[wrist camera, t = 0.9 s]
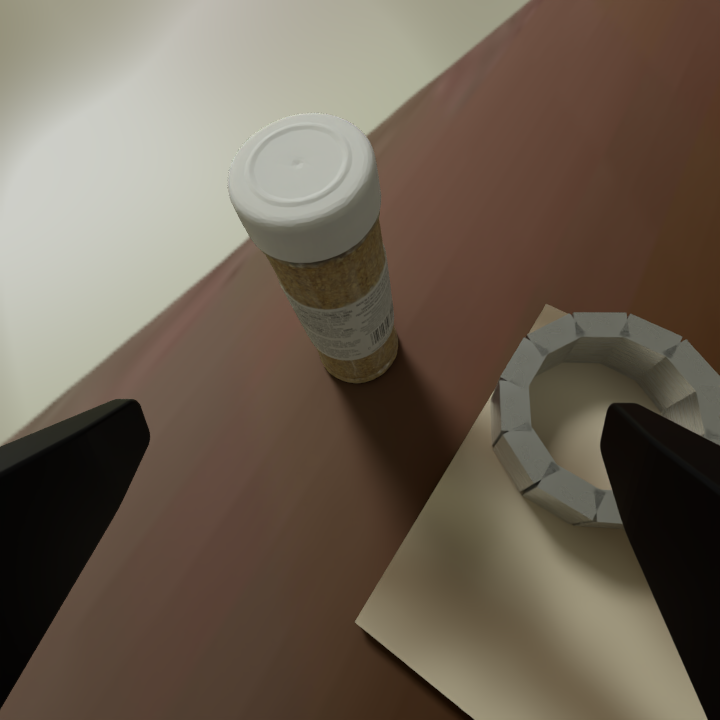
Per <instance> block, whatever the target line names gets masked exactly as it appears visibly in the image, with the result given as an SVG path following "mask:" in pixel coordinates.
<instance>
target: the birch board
mask: <svg viewBox="0 0 720 720" xmlns="http://www.w3.org/2000/svg"><path fill="white" fill-rule="evenodd" d="M565 315H567V313H565V312H562V311H560V310H558V309H556V308H554V307H552V306H550V305H547V304H546V305H545V307H544V309H543V310H542V312H541V314H540V315H539V317H538V319H537V320H536V322H535V324H534V325H533V327H532V329H531V330H530V332H529V334H530V333H532V332H534V331H536V330H538V329H540V328H542V327H544V326H546V325H547V324H549V323H551V322H553V321H555V320H557V319H559V318H561V317H563V316H565ZM492 395H493V393H492ZM492 395H491V397H492ZM491 397H490V398H489V400H488V402H487V403H486V405H485V407H484V408H483V410H482V412H481V413H480V415H479V417H478V418H477V420H476V422H475V423H474V425H473V427H472V428H471V430H470V432H469V433H468V435H467V437H466V438H465V440H464V442H463V443H462V445H461V447H460V448H459V450H458V452H457V453H456V455H455V456H454V458H453V460H452V461H451V463H450V465H449V466H448V468H447V470H446V471H445V473H444V475H443V476H442V478H441V480H440V481H439V483H438V485H437V486H436V488H435V490H434V491H433V493H432V495H431V496H430V498H429V500H428V501H427V503H426V505H425V506H424V508H423V510H422V511H421V513H420V515H419V516H418V518H417V520H416V521H415V523H414V525H413V526H412V528H411V530H410V531H409V533H408V535H407V536H406V538H405V539H404V541H403V543H402V544H401V546H400V548H399V549H398V551H397V553H396V554H395V556H394V558H393V559H392V561H391V563H390V564H389V566H388V568H387V569H386V571H385V573H384V574H383V576H382V578H381V579H380V581H379V583H378V584H377V586H376V588H375V589H374V591H373V593H372V594H371V596H370V598H369V599H368V601H367V603H366V604H365V606H364V608H363V609H362V611H361V613H360V614H359V616H358V618H357V619H356V621H355V623H356V624H358V625H359V626H360V627H361V628H363V629H364V630H365V631H366V632H367V633H369V634H370V635H371V636H372V637H374V638H375V639H376V640H377V641H379V642H380V643H381V644H382V645H383V646H385V647H386V648H387V649H388V650H390V651H391V652H392V653H393V654H394V655H396V656H397V657H398V658H399V659H401V660H402V661H403V662H404V663H406V664H407V665H408V666H409V667H410V668H412V669H413V670H414V671H415V672H417V673H418V674H419V675H420V676H422V677H423V678H424V679H425V680H426V681H428V682H429V683H430V684H431V685H433V686H434V687H435V688H436V689H437V690H439V691H440V692H441V693H442V694H444V695H445V696H446V697H447V698H449V699H450V700H451V701H452V702H453V703H455V704H456V705H457V706H458V707H460V708H461V709H462V710H463V711H464V712H466V713H467V714H468V715H469V716H471V717H472V718H473V719H474V720H708V719H707V717H706V715H705V713H704V710H703V708H702V706H701V704H700V701H699V699H698V697H697V694H696V692H695V690H694V688H693V685H692V683H691V681H690V679H689V676H688V674H687V672H686V669H685V667H684V665H683V663H682V660H681V658H680V656H679V654H678V651H677V649H676V647H675V644H674V642H673V640H672V638H671V635H670V633H669V631H668V629H667V626H666V624H665V622H664V619H663V617H662V615H661V613H660V610H659V608H658V606H657V604H656V601H655V599H654V597H653V594H652V592H651V590H650V588H649V585H648V583H647V581H646V579H645V576H644V574H643V572H642V569H641V567H640V565H639V563H638V560H637V558H636V556H635V553H634V551H633V549H632V547H631V544H630V542H629V540H628V537H627V535H626V532H625V530H624V529H613V528H599V527H585V526H573V524H568V523H566V522H565V521H563V520H561V519H560V518H558V517H556V516H555V515H553V514H552V513H550V512H548V511H547V510H545V509H544V508H542V507H540V506H539V505H537V504H535V503H534V502H532V501H531V500H529V499H527V498H526V497H524V496H522V495H523V493H524V491H525V490H523V491H521V492H519V491H518V490H517V488H516V486H515V485H514V483H513V481H512V480H511V478H510V477H509V475H508V473H507V472H506V470H505V468H504V467H503V465H502V464H501V462H500V460H499V459H498V457H497V455H496V454H495V452H494V450H493V448H494V447H495V446H492V442H491V412H490V400H491ZM529 399H530V413H531V426H532V428H533V429H534V431H535V432H536V434H537V435H538V437H539V438H540V440H541V441H542V443H543V444H544V446H545V447H546V449H547V450H548V452H549V453H550V455H551V456H552V458H553V459H554V461H555V462H556V464H557V465H559V466H561V467H562V468H564V469H566V470H567V471H569V472H571V473H573V474H574V475H576V476H578V477H580V478H581V479H583V480H585V481H586V482H588V483H590V484H592V485H593V486H595V487H597V488H599V489H603V490H612V488H611V485H610V482H609V478H608V475H607V472H606V468H605V465H604V462H603V459H602V455H601V451H600V440H601V435H602V430H603V426H604V421H605V417H606V412H607V409H608V407H609V405H611V404H612V403H637V404H639V405H641V406H643V407H645V408H647V409H649V410H651V411H653V412H655V413H657V414H659V415H661V412H660V410H659V409H658V408H657V407H656V405H655V404H654V403H653V402H652V400H651V399H650V398H649V397H648V395H647V394H646V393H645V392H644V391H643V389H642V388H641V387H640V386H639V384H638V383H637V382H636V381H635V380H633V379H631V378H629V377H627V376H625V375H623V374H621V373H619V372H617V371H615V370H613V369H611V368H609V367H606V366H604V365H602V364H600V363H561V364H559V365H557V366H555V367H553V368H551V369H549V370H547V371H545V372H543V373H541V374H539V375H537V376H535V377H534V378H533V380H532V381H531V383H530V385H529Z"/></svg>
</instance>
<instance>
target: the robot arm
mask: <svg viewBox="0 0 720 720" xmlns="http://www.w3.org/2000/svg"><path fill="white" fill-rule="evenodd" d="M149 441H150V432H149V429H148V426H147V423H146V420H145V417H144V414H143V411H142V409H141V406H140V404H139V403H138V402H137V401H136V400H134V399H115V400H112V401H110V402H107V403H105V404H102V405H100V406H98V407H95V408H93V409H90V410H88V411H85V412H83V413H81V414H78V415H76V416H73V417H71V418H69V419H66V420H64V421H61V422H59V423H57V424H54V425H52V426H49V427H47V428H44V429H42V430H40V431H37V432H35V433H32V434H30V435H28V436H25V437H23V438H20V439H18V440H15V441H13V442H11V443H8V444H6V445H3V446H1V447H0V709H1V707H2V706H3V704H4V702H5V701H6V699H7V697H8V695H9V694H10V692H11V690H12V689H13V687H14V685H15V684H16V682H17V680H18V679H19V677H20V675H21V673H22V672H23V670H24V668H25V667H26V665H27V663H28V662H29V660H30V658H31V657H32V655H33V653H34V651H35V650H36V648H37V646H38V645H39V643H40V641H41V640H42V638H43V636H44V635H45V633H46V631H47V629H48V628H49V626H50V624H51V623H52V621H53V619H54V618H55V616H56V614H57V612H58V611H59V609H60V607H61V606H62V604H63V602H64V601H65V599H66V597H67V596H68V594H69V592H70V590H71V589H72V587H73V585H74V584H75V582H76V580H77V579H78V577H79V575H80V574H81V572H82V570H83V568H84V567H85V565H86V563H87V562H88V560H89V558H90V557H91V555H92V553H93V552H94V550H95V548H96V546H97V545H98V543H99V541H100V540H101V538H102V536H103V535H104V533H105V531H106V530H107V528H108V526H109V524H110V523H111V521H112V519H113V518H114V516H115V514H116V512H117V510H118V509H119V507H120V505H121V503H122V501H123V499H124V496H125V494H126V492H127V490H128V488H129V486H130V484H131V481H132V479H133V477H134V475H135V473H136V471H137V468H138V466H139V464H140V462H141V460H142V458H143V456H144V453H145V451H146V449H147V447H148V445H149ZM600 451H601V455H602V459H603V462H604V465H605V468H606V472H607V475H608V478H609V482H610V485H611V488H612V492H613V495H614V498H615V501H616V505H617V508H618V511H619V515H620V518H621V521H622V524H623V527H624V530H625V532H626V535H627V537H628V540H629V542H630V544H631V547H632V549H633V551H634V553H635V556H636V558H637V560H638V563H639V565H640V567H641V569H642V572H643V574H644V576H645V579H646V581H647V583H648V585H649V588H650V590H651V592H652V594H653V597H654V599H655V601H656V604H657V606H658V608H659V610H660V613H661V615H662V617H663V619H664V622H665V624H666V626H667V629H668V631H669V633H670V635H671V638H672V640H673V642H674V644H675V647H676V649H677V651H678V654H679V656H680V658H681V660H682V663H683V665H684V667H685V669H686V672H687V674H688V676H689V679H690V681H691V683H692V685H693V688H694V690H695V692H696V694H697V697H698V699H699V701H700V704H701V706H702V708H703V710H704V713H705V715H706V717H707V719H708V720H720V445H718V444H716V443H714V442H712V441H710V440H708V439H706V438H704V437H702V436H700V435H698V434H696V433H694V432H692V431H690V430H688V429H686V428H685V427H683V426H681V425H679V424H677V423H675V422H673V421H671V420H669V419H667V418H665V417H663V416H661V415H659V414H657V413H655V412H653V411H651V410H649V409H647V408H645V407H643V406H641V405H639V404H637V403H612V404H611V405H609V407H608V409H607V412H606V417H605V421H604V426H603V430H602V435H601V440H600Z"/></svg>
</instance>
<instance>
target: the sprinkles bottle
mask: <svg viewBox="0 0 720 720" xmlns="http://www.w3.org/2000/svg"><path fill="white" fill-rule="evenodd" d="M228 191H229V196H230V199H231V202H232V204H233V206H234V208H235V210H236V212H237V214H238V216H239V218H240V220H241V222H242V224H243V226H244V227H245V229H246V231H247V233H248V234H249V236H250V238H251V240H252V241H253V242H254V243H255V245H256V246H257V247H258V248H259V249H260V250H261V251H262V252H263V253H264V254H265V255H266V257H267V258H268V260H269V261H270V264H271V265H272V267H273V269H274V270H275V272H276V274H277V277H278V279H279V283H280V285H281V287H282V289H283V291H284V293H285V294H286V296H287V298H288V300H289V302H290V304H291V305H292V307H293V309H294V311H295V313H296V315H297V316H298V318H299V320H300V322H301V324H302V325H303V327H304V329H305V331H306V333H307V334H308V336H309V338H310V340H311V341H312V343H313V344H314V346H315V347H316V348H317V350H318V352H319V356H320V359H321V361H322V363H323V365H324V366H325V368H326V370H327V371H328V372H329V373H330V374H332V375H333V376H335V377H336V378H338V379H340V380H342V381H344V382H350V383H364V382H367V381H370V380H374V379H375V378H377V377H379V376H381V375H382V374H384V373H385V372H386V371H387V369H388V368H389V367H390V366H391V365H392V363H393V360H394V359H395V358H396V355H397V350H398V338H397V333H396V329H395V328H394V311H393V303H392V295H391V287H390V279H389V271H388V264H387V257H386V251H385V247H384V245H383V242H382V236H381V229H380V223H379V215H380V205H381V192H380V184H379V177H378V170H377V164H376V158H375V154H374V150H373V148H372V146H371V144H370V142H369V140H368V139H367V137H366V136H365V134H364V133H363V132H362V131H361V130H360V129H359V128H358V127H356V126H355V125H354V124H352V123H351V122H349V121H347V120H345V119H342V118H340V117H337V116H334V115H329V114H324V113H304V114H296V115H292V116H288V117H285V118H282V119H279V120H277V121H274V122H272V123H270V124H268V125H267V126H265V127H263V128H262V129H260V130H259V131H257V132H256V133H255V134H253V135H252V136H251V137H250V138H248V139H247V141H246V142H245V143H244V144H243V145H242V147H241V148H240V149H239V150H238V152H237V153H236V155H235V157H234V159H233V161H232V163H231V166H230V169H229V174H228Z"/></svg>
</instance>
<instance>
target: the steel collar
mask: <svg viewBox="0 0 720 720" xmlns="http://www.w3.org/2000/svg"><path fill="white" fill-rule="evenodd" d="M681 339H682V336H680V335H677V334H675V333H673V332H671V331H668V330H666V329H664V328H662V327H659V326H657V325H655V324H653V323H650V322H648V321H646V320H644V319H641V318H639V317H637V316H635V315H632V314H630V315H629V316H628V317H627V315H626V313H576V312H573V314H572V316H571V315H570V313H569V314H567V315H565V316H563V317H561V318H559V319H557V320H555V321H553V322H551V323H549V324H547V325H546V326H544V327H542V328H540V329H538V330H536V331H534V332H532V333H530V334H528V335H527V336H526V338H523V340H522V342H521V343H520V345H519V347H518V348H517V350H516V352H515V353H514V355H513V357H512V358H511V360H510V362H509V363H508V365H507V367H506V368H505V370H504V372H503V373H502V375H501V376H500V379H499V381H498V383H497V385H496V388H495V390H494V392H493V395H492V397H491V400H490V412H491V442H492V446H495V447H494V448H493V450H494V452H495V454H496V455H497V457H498V459H499V460H500V462H501V464H502V465H503V467H504V468H505V470H506V472H507V473H508V475H509V477H510V478H511V480H512V481H513V483H514V485H515V486H516V488H517V490H518V491H519V492H521V491H523V490H525V491H524V493H523V495H522V496H524V497H526V498H527V499H529V500H531V501H532V502H534V503H535V504H537V505H539V506H540V507H542V508H544V509H545V510H547V511H548V512H550V513H552V514H553V515H555V516H556V517H558V518H560V519H561V520H563V521H565V522H566V523H568V524H573V526H585V527H599V528H613V529H624V527H623V524H622V521H621V518H620V515H619V511H618V508H617V505H616V501H615V498H614V495H613V492H612V490H603V489H599V488H597V487H595V486H593V485H592V484H590V483H588V482H586V481H585V480H583V479H581V478H580V477H578V476H576V475H574V474H573V473H571V472H569V471H567V470H566V469H564V468H562V467H561V466H559V465H557V464H556V462H555V461H554V459H553V458H552V456H551V455H550V453H549V452H548V450H547V449H546V447H545V446H544V444H543V443H542V441H541V440H540V438H539V437H538V435H537V434H536V432H535V431H534V429H533V428H532V426H531V413H530V399H529V385H530V383H531V381H532V380H533V378H534V377H535V376H537V375H539V374H541V373H543V372H545V371H547V370H549V369H551V368H553V367H555V366H557V365H559V364H561V363H600V364H602V365H604V366H606V367H609V368H611V369H613V370H615V371H617V372H619V373H621V374H623V375H625V376H627V377H629V378H631V379H633V380H635V381H636V382H637V383H638V384H639V386H640V387H641V388H642V389H643V391H644V392H645V393H646V394H647V395H648V397H649V398H650V399H651V400H652V402H653V403H654V404H655V405H656V407H657V408H658V409H659V410H660V412H661V416H663V417H665V418H667V419H669V420H671V421H673V422H675V423H677V424H679V425H681V426H683V427H685V428H686V429H688V430H690V431H692V432H694V433H696V434H698V435H700V436H702V437H704V438H706V439H708V440H710V441H712V442H714V443H716V444H718V445H720V376H719V375H718V374H717V373H716V372H715V371H714V370H713V368H712V367H711V366H710V365H709V364H708V363H707V362H706V361H705V360H704V358H703V357H702V356H701V355H700V354H699V353H698V352H697V351H696V350H695V349H694V347H693V346H692V345H691V344H690V343H689V342H688V341H687V340H684V341H683V342H681V343H680V341H681Z"/></svg>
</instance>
